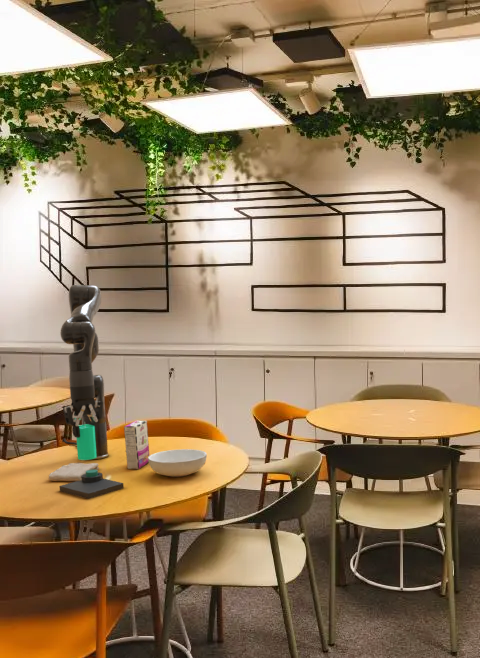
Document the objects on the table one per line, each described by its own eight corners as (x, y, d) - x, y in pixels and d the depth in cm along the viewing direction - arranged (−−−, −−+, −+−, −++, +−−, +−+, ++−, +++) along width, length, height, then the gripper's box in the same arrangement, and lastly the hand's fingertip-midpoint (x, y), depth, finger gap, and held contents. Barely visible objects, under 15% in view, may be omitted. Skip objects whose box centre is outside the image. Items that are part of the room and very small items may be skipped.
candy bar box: (138, 461, 263) (135, 420, 261) (150, 462, 262) (147, 420, 260) (126, 469, 252) (123, 426, 250) (138, 469, 251) (136, 426, 249)
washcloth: (100, 469, 253) (99, 461, 253) (80, 482, 236) (79, 474, 235) (70, 469, 255) (69, 461, 254) (48, 482, 237) (47, 473, 237)
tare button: (83, 476, 232) (83, 471, 231) (93, 473, 235) (92, 468, 234) (90, 478, 229) (90, 473, 229) (100, 475, 232) (100, 470, 232)
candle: (79, 456, 223) (77, 420, 222) (98, 455, 224) (95, 419, 222) (75, 460, 217) (73, 423, 216) (94, 459, 218) (92, 423, 216)
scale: (58, 491, 226) (58, 481, 225) (94, 481, 237) (94, 471, 237) (88, 499, 216) (87, 488, 215) (124, 488, 227) (124, 478, 226)
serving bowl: (216, 467, 249) (215, 449, 249) (191, 483, 230) (190, 463, 229) (166, 464, 256) (165, 447, 255) (137, 479, 237) (136, 460, 236)
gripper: (93, 380, 225) (96, 430, 227) (55, 386, 214) (59, 438, 216) (107, 381, 220) (110, 432, 223) (69, 387, 209) (73, 440, 212)
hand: (85, 435), depth 219 cm, fingers closed on candle, 6 cm apart
